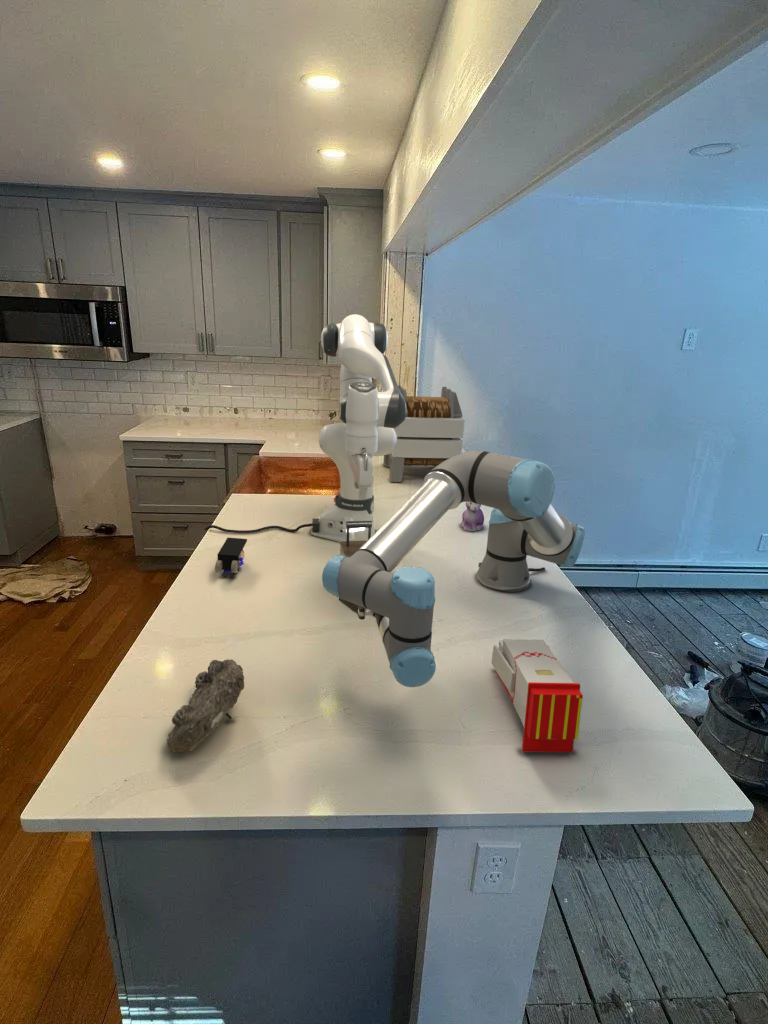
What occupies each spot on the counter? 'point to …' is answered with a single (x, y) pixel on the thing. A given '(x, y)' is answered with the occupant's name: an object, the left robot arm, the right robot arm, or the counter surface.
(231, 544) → the black wheeled rover
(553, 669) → the toy
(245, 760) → the counter surface
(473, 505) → the figurine
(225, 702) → the fossil
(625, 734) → the counter surface
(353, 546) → the lid
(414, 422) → the transformer
